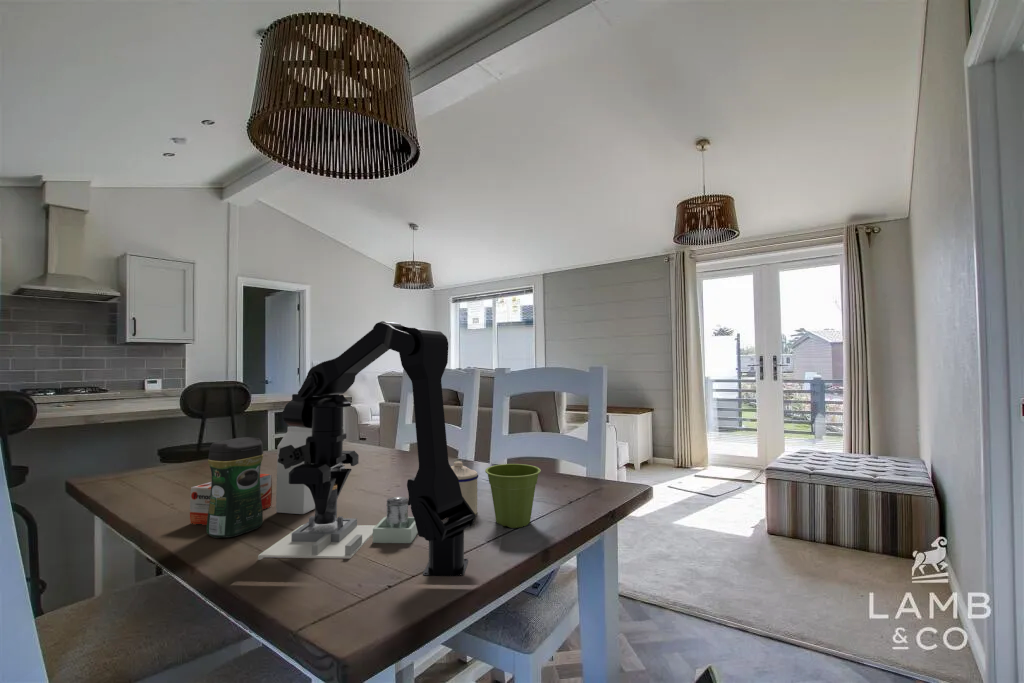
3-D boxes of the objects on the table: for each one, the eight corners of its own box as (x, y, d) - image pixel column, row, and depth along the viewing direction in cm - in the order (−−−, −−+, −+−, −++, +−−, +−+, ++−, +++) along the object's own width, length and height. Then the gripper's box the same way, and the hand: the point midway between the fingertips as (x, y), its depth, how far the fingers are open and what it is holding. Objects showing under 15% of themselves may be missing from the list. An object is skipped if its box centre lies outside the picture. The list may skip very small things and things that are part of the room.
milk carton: (303, 515, 107) (305, 429, 108) (275, 513, 109) (277, 428, 110) (322, 506, 114) (323, 425, 115) (295, 504, 116) (297, 425, 117)
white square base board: (350, 561, 82) (350, 545, 82) (258, 559, 82) (258, 543, 83) (379, 529, 98) (379, 516, 98) (302, 528, 98) (302, 515, 99)
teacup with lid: (484, 510, 111) (484, 459, 111) (469, 522, 102) (469, 467, 103) (436, 506, 114) (436, 456, 115) (418, 517, 106) (418, 463, 106)
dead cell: (404, 539, 91) (405, 501, 91) (383, 539, 91) (384, 500, 91) (410, 532, 95) (410, 495, 95) (389, 532, 95) (390, 495, 95)
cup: (411, 545, 89) (411, 529, 89) (372, 545, 89) (372, 528, 89) (420, 532, 96) (420, 517, 96) (384, 531, 96) (384, 516, 96)
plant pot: (473, 523, 102) (473, 469, 102) (513, 511, 110) (512, 461, 111) (513, 537, 93) (513, 478, 94) (552, 523, 102) (552, 469, 102)
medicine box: (243, 505, 116) (244, 471, 116) (272, 507, 114) (273, 473, 114) (187, 525, 101) (189, 486, 102) (220, 528, 99) (221, 489, 100)
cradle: (335, 536, 90) (335, 522, 90) (301, 536, 90) (302, 522, 90) (348, 525, 96) (348, 512, 96) (316, 524, 97) (317, 511, 97)
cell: (331, 524, 91) (332, 486, 92) (310, 524, 91) (311, 485, 92) (340, 517, 95) (340, 481, 96) (320, 517, 95) (320, 480, 96)
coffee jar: (243, 521, 103) (245, 434, 104) (269, 526, 100) (271, 436, 101) (197, 536, 94) (200, 440, 95) (224, 542, 91) (227, 443, 92)
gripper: (309, 424, 104) (307, 497, 103) (260, 436, 85) (258, 526, 84) (359, 424, 103) (358, 497, 103) (322, 436, 85) (320, 526, 84)
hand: (326, 510), depth 93 cm, fingers closed on cell, 4 cm apart
